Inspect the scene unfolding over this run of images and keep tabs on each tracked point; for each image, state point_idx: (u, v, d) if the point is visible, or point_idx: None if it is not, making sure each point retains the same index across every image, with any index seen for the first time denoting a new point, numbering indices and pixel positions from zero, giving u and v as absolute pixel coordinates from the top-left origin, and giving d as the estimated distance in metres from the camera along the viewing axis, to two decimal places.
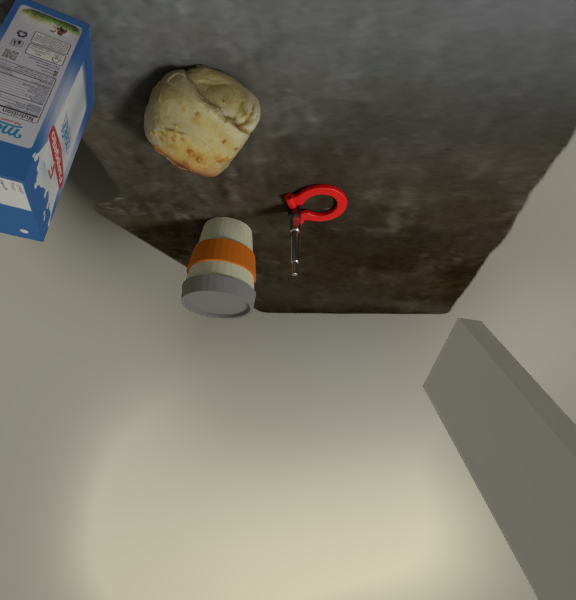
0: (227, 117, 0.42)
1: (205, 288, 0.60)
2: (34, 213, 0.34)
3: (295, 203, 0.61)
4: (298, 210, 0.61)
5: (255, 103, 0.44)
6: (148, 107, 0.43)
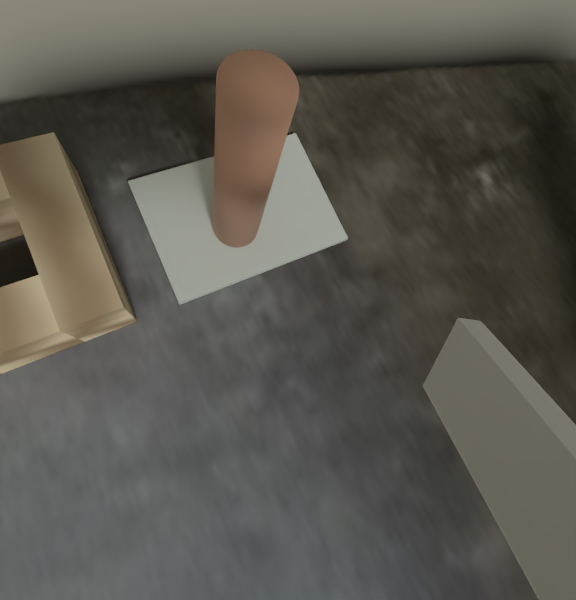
0: None
1: None
2: None
3: None
4: None
5: None
6: None
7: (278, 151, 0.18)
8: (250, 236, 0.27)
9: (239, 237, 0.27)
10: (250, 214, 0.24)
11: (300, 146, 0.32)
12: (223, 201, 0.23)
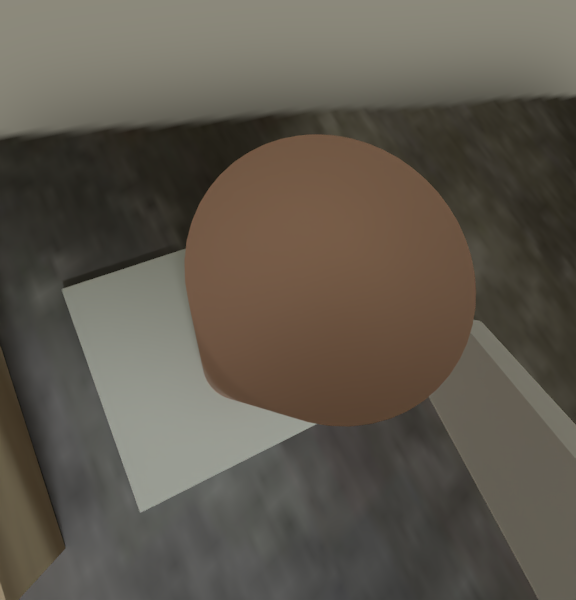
0: None
1: None
2: None
3: None
4: None
5: None
6: None
7: None
8: None
9: None
10: None
11: None
12: None
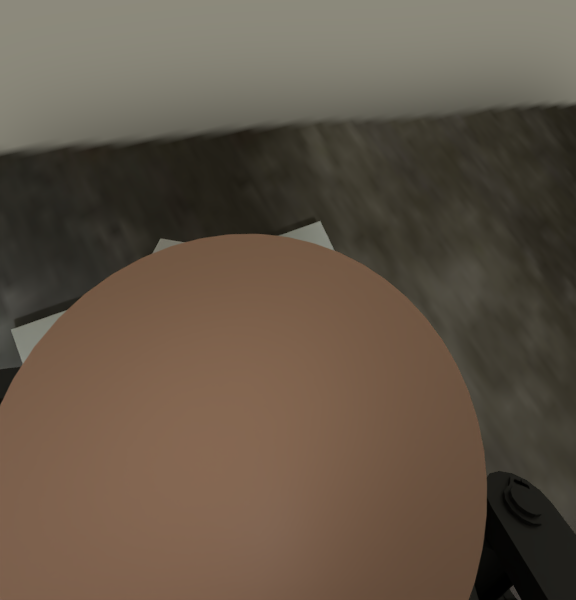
0: None
1: None
2: None
3: None
4: None
5: None
6: None
7: None
8: None
9: None
10: None
11: (328, 244, 0.19)
12: None
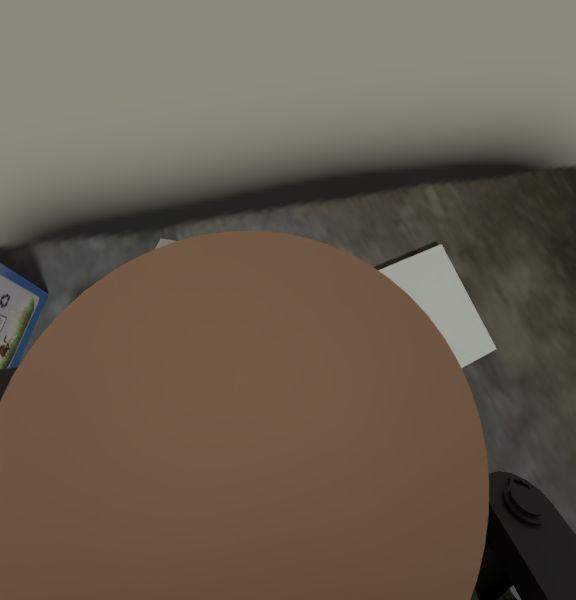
0: None
1: None
2: None
3: None
4: None
5: None
6: None
7: None
8: None
9: None
10: None
11: (446, 257, 0.33)
12: None
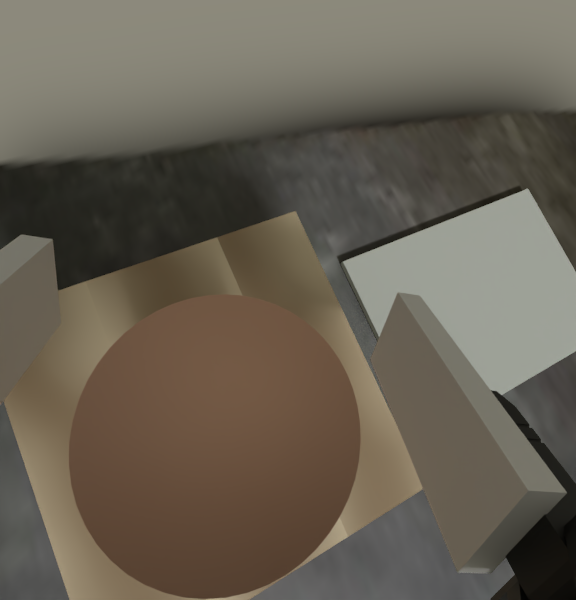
0: None
1: None
2: None
3: None
4: None
5: None
6: None
7: None
8: None
9: None
10: None
11: (536, 206, 0.24)
12: None
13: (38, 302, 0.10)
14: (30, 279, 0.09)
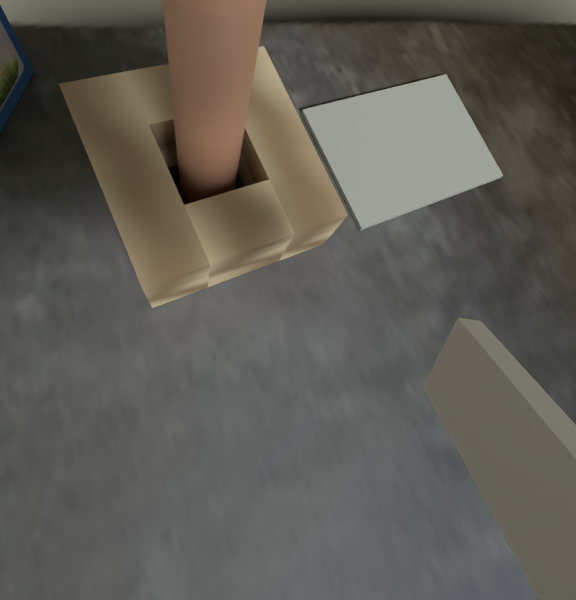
0: None
1: None
2: None
3: None
4: None
5: None
6: None
7: (246, 77, 0.15)
8: None
9: None
10: (219, 170, 0.20)
11: (451, 87, 0.32)
12: (185, 152, 0.19)
13: None
14: None
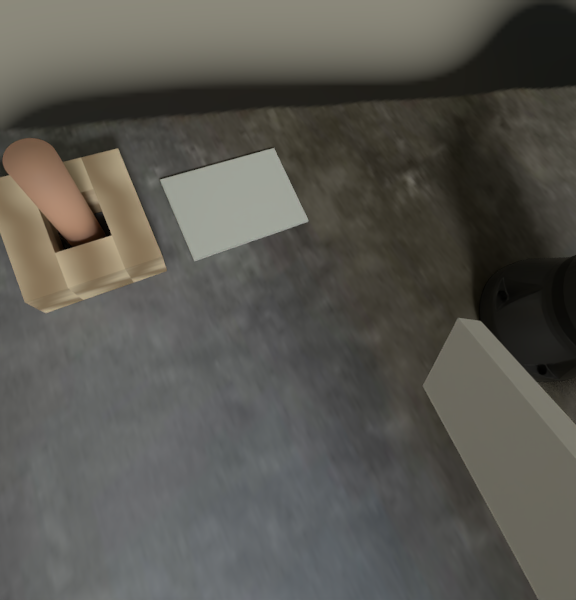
0: None
1: None
2: None
3: None
4: None
5: None
6: None
7: (63, 195, 0.29)
8: None
9: None
10: (76, 232, 0.34)
11: (277, 157, 0.46)
12: None
13: None
14: None
